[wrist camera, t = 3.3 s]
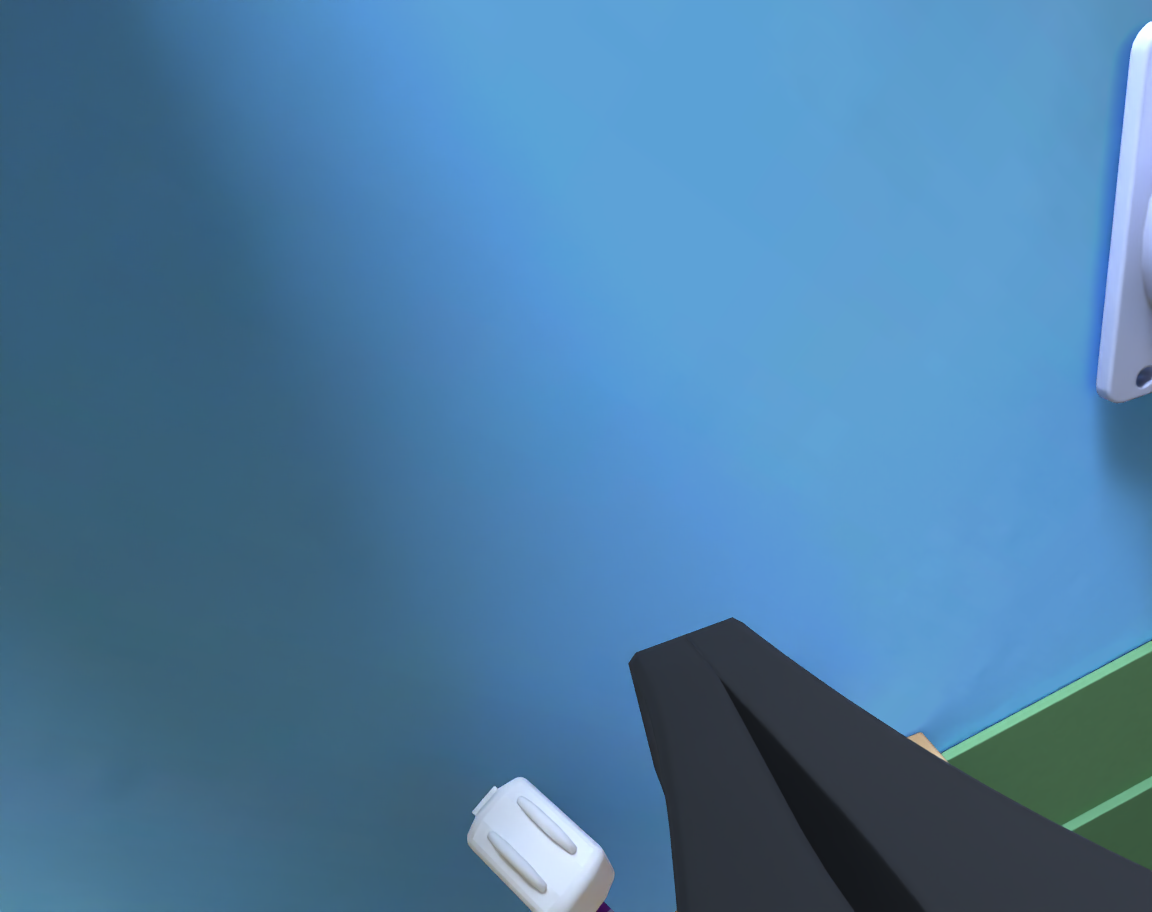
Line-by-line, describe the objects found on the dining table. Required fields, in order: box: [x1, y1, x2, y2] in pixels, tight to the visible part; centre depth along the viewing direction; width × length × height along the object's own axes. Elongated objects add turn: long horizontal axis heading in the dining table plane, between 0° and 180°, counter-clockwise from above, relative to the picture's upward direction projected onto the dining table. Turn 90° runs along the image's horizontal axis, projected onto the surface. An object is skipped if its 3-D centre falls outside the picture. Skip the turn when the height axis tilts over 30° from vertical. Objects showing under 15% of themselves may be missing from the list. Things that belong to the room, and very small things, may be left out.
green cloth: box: [941, 641, 1152, 870], centre depth 25 cm, size 8×11×1 cm
